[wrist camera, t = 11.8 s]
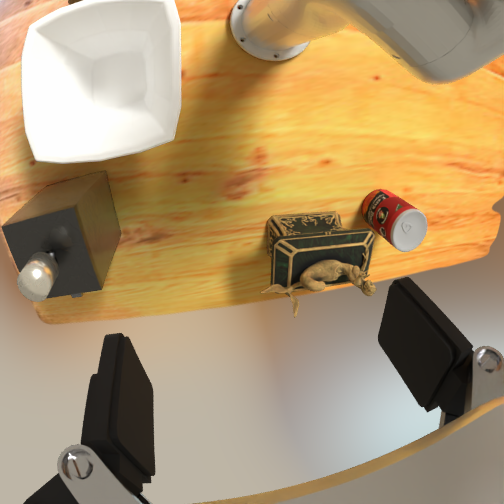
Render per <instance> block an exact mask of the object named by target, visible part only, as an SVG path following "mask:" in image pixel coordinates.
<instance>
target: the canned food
mask: <svg viewBox="0 0 504 504" xmlns="http://www.w3.org/2000/svg"><path fill="white" fill-rule="evenodd" d="M362 214H363V217H364V219H365V221H366V222H367V223H368V224H369V225H370V226H371V227H372V228H373V229H374V230H375V231H377V232H378V233H379V234H380V235H381V236H382V237H383V238H385V239H386V240H387V241H388V242H389V243H390V244H391V245H393V246H394V247H395V248H396V249H398V250H399V251H402V252H408V251H411V250H413V249H415V248H416V247H417V246H418V245H419V244H420V243H421V242H422V241H423V239H424V237H425V235H426V232H427V219H426V217H425V215H424V214H423V213H422V212H421V211H419V210H418V209H417V208H415V207H414V206H412V205H410V204H409V203H407V202H406V201H404V200H402V199H401V198H399V197H398V196H396V195H394V194H393V193H391V192H389V191H387V190H382V189H379V190H375V191H373V192H371V193H370V194H369V195H368V196H367V197H366V198H365V200H364V202H363V206H362Z"/></svg>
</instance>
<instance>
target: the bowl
mask: <svg viewBox="0 0 504 504" xmlns="http://www.w3.org/2000/svg"><path fill="white" fill-rule="evenodd" d="M21 87H22V105H23V116H24V125H25V133H26V136H27V139H28V142H29V145H30V147H31V150H32V153H33V155H34V158H35V160H36V161H37V162H48V163H59V164H68V163H81V162H96V161H104V160H108V159H112V158H117V157H121V156H125V155H130V154H135V153H140V152H143V151H146V150H148V149H151V148H154V147H156V146H159V145H162V144H165V143H168V142H171V141H173V140H174V138H175V133H176V128H177V124H178V119H179V115H180V110H181V22H180V19H179V15H178V12H177V8H176V5H175V2H174V0H83V1H80V2H77V3H74V4H71V5H68V6H66V7H63V8H60V9H58V10H56V11H54V12H52V13H50V14H48V15H47V16H45V17H43V18H41V19H40V20H38V21H36V22H35V23H33V24H31V25H30V26H29V28H28V32H27V36H26V40H25V43H24V48H23V52H22V56H21Z"/></svg>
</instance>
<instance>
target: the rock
mask: <svg viewBox="0 0 504 504" xmlns="http://www.w3.org/2000/svg"><path fill="white" fill-rule="evenodd" d="M80 1H83V0H69V1H68V3H69V4H70V5H71V4H74V3H77V2H80Z"/></svg>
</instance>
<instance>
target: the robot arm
mask: <svg viewBox="0 0 504 504" xmlns="http://www.w3.org/2000/svg"><path fill="white" fill-rule="evenodd" d="M238 7H240V8H241V9H240V10H239V9H238ZM349 24H351V25H353V26H354V27H355V28H356V29H358V30H359V31H360V32H362V33H364V34H365V35H367V36H368V37H369V38H370V39H371V40H373V41H374V42H375V43H376V44H377V45H379V46H380V47H381V48H382V49H383V50H384V51H386V52H387V53H388V54H389V55H390V56H391V57H392V58H394V59H395V60H396V61H397V62H398V63H399V64H400V65H401V66H402V67H404V68H405V69H406V70H407V71H408V72H409V73H411V74H412V75H413V76H415V77H416V78H418V79H419V80H421V81H423V82H426V83H429V84H436V85H441V84H448V83H452V82H455V81H458V80H460V79H462V78H464V77H467V76H468V75H470V74H472V73H474V72H476V71H477V70H479V69H481V68H482V67H484V66H486V65H487V64H489V63H491V62H492V61H494V60H496V59H497V58H499V57H501V56H502V55H504V0H238V2H237V3H236V4H235V6H234V8H233V10H232V13H231V16H230V29H231V32H232V35H233V37H234V39H235V41H236V42H237V43H238V45H239V46H240V47H241V48H242V49H243V50H245V51H246V52H247V53H249V54H250V55H252V56H254V57H256V58H259V59H262V60H267V61H281V60H286V59H290V58H292V57H294V56H297V55H298V54H299V53H301V52H302V51H303V50H304V49H305V48H306V47H307V46H308V44H309V43H310V41H312V40H315V39H318V38H321V37H324V36H328V35H331V34H334V33H337V32H339V31H341V30H343V29H344V28H346V27H347V26H348V25H349ZM241 39H243V40H244V41H243V42H241V41H240V40H241ZM274 55H276V56H277V57H276V58H275V57H274ZM378 342H379V344H380V346H381V347H382V349H383V350H384V352H385V353H386V355H387V356H388V357H389V359H390V361H391V362H392V364H393V365H394V367H395V368H396V370H397V371H398V373H399V374H400V376H401V377H402V379H403V381H404V382H405V384H406V385H407V387H408V388H409V390H410V391H411V393H412V395H413V396H414V398H415V399H416V401H417V402H418V404H419V405H420V406H421V407H424V408H425V410H426V411H427V412H429V411H431V410H433V409H435V408H437V407H438V406H439V407H440V408H441V410H442V412H441V418H440V424H439V429H437V430H435V431H433V432H431V433H430V434H428V435H426V436H424V437H422V438H420V439H418V440H416V441H414V442H412V443H410V444H408V445H405V446H403V447H401V448H399V449H397V450H395V451H392V452H390V453H388V454H385V455H383V456H381V457H378V458H376V459H373V460H371V461H368V462H366V463H363V464H361V465H358V466H355V467H352V468H350V469H347V470H344V471H341V472H339V473H335V474H332V475H329V476H326V477H323V478H320V479H316V480H313V481H309V482H306V483H302V484H298V485H295V486H291V487H287V488H283V489H279V490H274V491H270V492H265V493H260V494H255V495H250V496H244V497H238V498H232V499H226V500H218V501H211V502H203V503H194V504H504V358H503V356H502V354H501V353H500V352H499V351H497V350H496V349H494V348H492V347H489V346H482V347H479V348H477V349H476V350H475V352H474V351H473V350H472V348H473V345H472V344H471V343H470V342H469V341H468V340H467V339H466V337H465V336H464V335H463V334H462V333H461V332H460V331H459V329H458V328H457V327H456V326H455V325H454V324H453V323H452V322H451V321H450V320H449V319H448V317H447V316H446V315H445V314H444V313H443V312H442V311H441V310H440V309H439V308H438V307H437V305H436V304H435V303H434V302H433V301H431V299H430V298H429V297H428V296H427V295H426V294H425V293H424V292H423V291H422V290H421V289H420V288H419V287H418V286H417V285H416V284H415V283H414V282H413V281H412V280H411V279H410V278H409V277H405V278H401V279H397V280H394V281H393V283H392V285H391V286H390V287H389V291H388V296H387V300H386V305H385V309H384V313H383V318H382V322H381V326H380V330H379V334H378ZM57 466H58V472H59V473H58V474H57V475H55V476H54V477H53V478H52V479H51V480H50V481H48V482H47V483H46V484H45V485H44V486H42V487H41V488H40V489H39V490H38V491H36V492H35V493H34V494H33V495H32V496H30V497H29V498H28V499H27V500H26V501H25V502H24V503H23V504H152V503H151V502H150V501H149V500H148V499H147V498H146V497H145V496H144V495H143V494H142V493H141V492H142V491H143V486H142V483H151V476H154V475H155V455H154V419H153V388H152V385H151V382H150V380H149V378H148V376H147V374H146V372H145V370H144V368H143V366H142V364H141V362H140V360H139V358H138V356H137V354H136V352H135V350H134V347H133V345H132V343H131V341H130V339H129V337H124V335H123V334H122V333H117V334H109V335H106V336H105V338H104V342H103V347H102V352H101V357H100V362H99V368H98V373H97V374H93V375H92V376H91V379H90V384H89V389H88V395H87V401H86V408H85V415H84V421H83V428H82V437H81V445H79V444H77V445H71V446H70V447H68V448H66V449H65V450H64V451H63V452H62V453H61V455H60V456H59V458H58V463H57Z"/></svg>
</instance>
